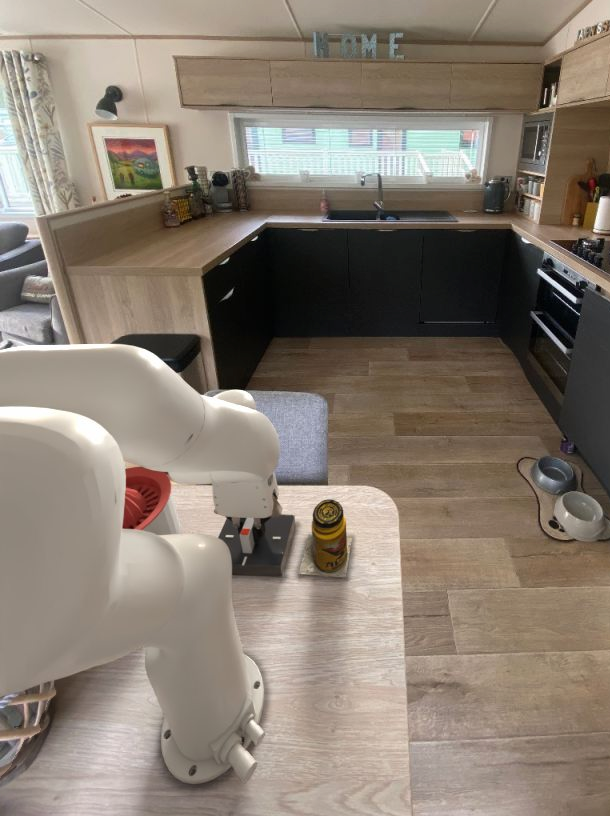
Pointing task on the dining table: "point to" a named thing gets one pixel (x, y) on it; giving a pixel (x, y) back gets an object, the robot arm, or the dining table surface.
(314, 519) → the condiment
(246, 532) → the tap handle
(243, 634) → the dining table surface
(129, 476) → the citrus juicer
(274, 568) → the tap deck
